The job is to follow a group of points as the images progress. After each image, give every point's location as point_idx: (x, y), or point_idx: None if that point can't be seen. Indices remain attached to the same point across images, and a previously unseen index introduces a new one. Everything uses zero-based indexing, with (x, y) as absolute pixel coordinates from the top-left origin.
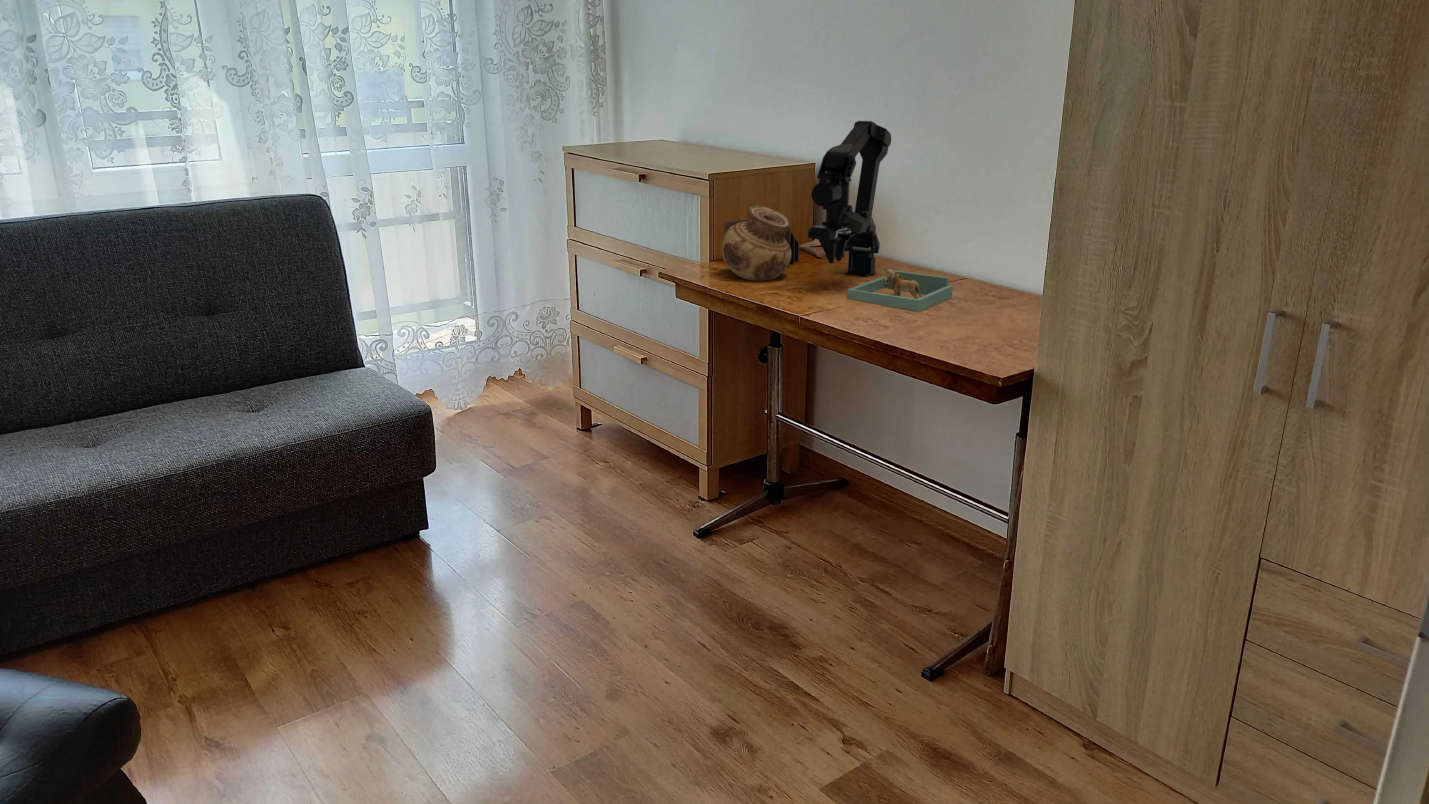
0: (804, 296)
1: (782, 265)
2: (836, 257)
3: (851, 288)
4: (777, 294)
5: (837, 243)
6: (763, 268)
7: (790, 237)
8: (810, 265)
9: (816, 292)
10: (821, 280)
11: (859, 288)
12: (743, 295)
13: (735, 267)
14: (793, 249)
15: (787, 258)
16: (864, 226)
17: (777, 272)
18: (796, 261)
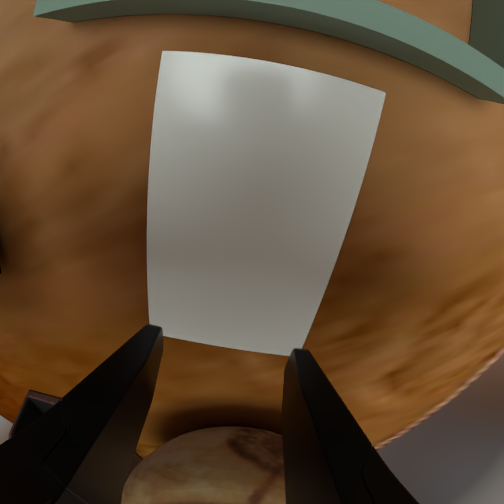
0: (424, 296)
1: (266, 462)
2: (156, 373)
3: (490, 84)
4: (403, 369)
5: (106, 490)
6: None
7: None
8: (6, 369)
9: (340, 281)
10: (105, 323)
11: (447, 35)
12: (420, 410)
13: None
14: None
15: (237, 479)
16: None
17: (270, 445)
18: (30, 401)
